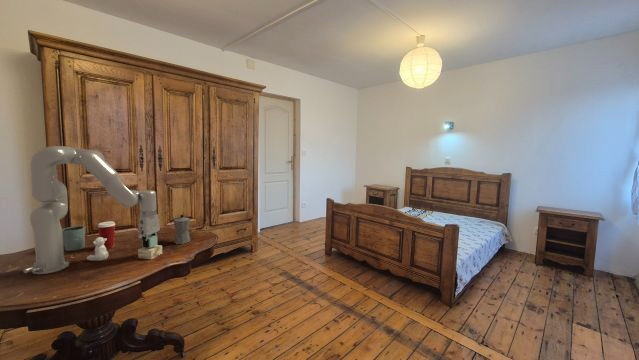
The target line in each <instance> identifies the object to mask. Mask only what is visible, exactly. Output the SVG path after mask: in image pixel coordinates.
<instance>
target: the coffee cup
mask: <svg viewBox="0 0 639 360" xmlns="http://www.w3.org/2000/svg"><path fill="white" fill-rule="evenodd" d="M97 228H98V235H99V237H102V238H103V239H105V238H107V240H106V241H105V243H104V246H105V247H106V250H110V249H114V248H115V237H116V235H115V232H116V231H115V229H116V223H115V221H103V222H102V221H101V222H99V223H98V225H97Z"/></svg>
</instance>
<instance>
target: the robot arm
mask: <svg viewBox="0 0 639 360" xmlns="http://www.w3.org/2000/svg"><path fill="white" fill-rule="evenodd" d="M64 164H71V165H79V166H82V167H83V168H84V169H86V171H87V172H88V173H90V174H91V175H92V176H93V177H94V178H95V179H96V180H97V181H98V182H99V183H100V184H101V185H102V187H103V188H104V189H105V190H106V191H107V193H108V194H109V196H111V197H112V198H113V199H114V200H115V201H116V202H118V203H119V204H120V205H121V206H122V207H125V208H131V207H134V206H135V205H137V204H139V211H140V213H139V216H140V217H139V220H138V221H139V222H138V223H139V224H138V234H137V237H138V238H139V239H140V240H141V241H142V240H143V247H149V240H148V236H149V235H153V236H157V237H158V233H159V231H160V230H161V225H160V218H159V217H160V216H159V214H158V213H157V210H158V209H157V208H158V207H157V193H156V191H155V190H152V189H151V190H149V189H148V190H146V189H145V190H135V189H134V190H133V189H131V190H130V189H129V188H128V187H126V185H125V184H124V183H123V181H122V180H121V177H120V175H119V173H118V171H116V170H115V168H113V166H111V165H110V164H109V163H108V162H107V161H106V159H105V155H103V153H102V152H100V151H98V150H94V149H93V150H92V149H88V148H87V149H85V148H79V147H74V146H73V147H72V146H66V145H64V146H63V145H54V146H47V147H44V148H42V149H40V150H38V151H36V152H35V153H34V154H33V156H32V157H31V160H30V172H31V173H30V174H31V175H30V177H31V178H30V179H31V182H30V183H31V196H32V198H33V199H34V200H35V201H36V202H40V203H42V204H41V205H40V206H38V207H36V208H34V209H33V210H32V211H31V213H30V215H29V221H30V222H29V223H30V224H31V228H32V234H33V241H34V249H35V250H34V251H35V253H34V254H35V261H36V262H34V263H33V265H32V266H30V267H28V268H25V269H23V270H22V271H23V273H24V274H28V273H32V274H34V275H45V274H46V275H47V274H52V273H57V272H60V271H62V270H64V269H66V268H68V267H70V262H69V261H67V260H66V259H65V246H64V241H63V235H62V229H63V228H62V225H61V222H60V220H61V219H64V218H65V216H67V214H68V210H69V209H68V208H69V202H68V190H67V186H66V185H65V184H64V183H63V182H61V181H60V180H58V170H57V165H64ZM143 247H142V248H143ZM65 260H66V261H65Z"/></svg>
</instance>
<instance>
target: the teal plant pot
mask: <svg viewBox="0 0 639 360" xmlns="http://www.w3.org/2000/svg"><path fill="white" fill-rule="evenodd" d="M85 232H86V227H85V226H84V225H75V226H70V227H69V226H68V227H65V228H62V235H63V247H64V251H66V252H71V251H72V252H73V251H78V250H81V249H84V248H85V247H86V242H85V240H86V239H85V237H86V235H85Z"/></svg>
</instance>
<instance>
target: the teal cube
mask: <svg viewBox="0 0 639 360" xmlns="http://www.w3.org/2000/svg"><path fill="white" fill-rule="evenodd" d="M148 240H149V248H151V247H153V246H155V245H159V244H158V235H157V236H153V235H151V234H150V235H148ZM141 242H142V243H141V245H142V247H141V248H143V240H141Z"/></svg>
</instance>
